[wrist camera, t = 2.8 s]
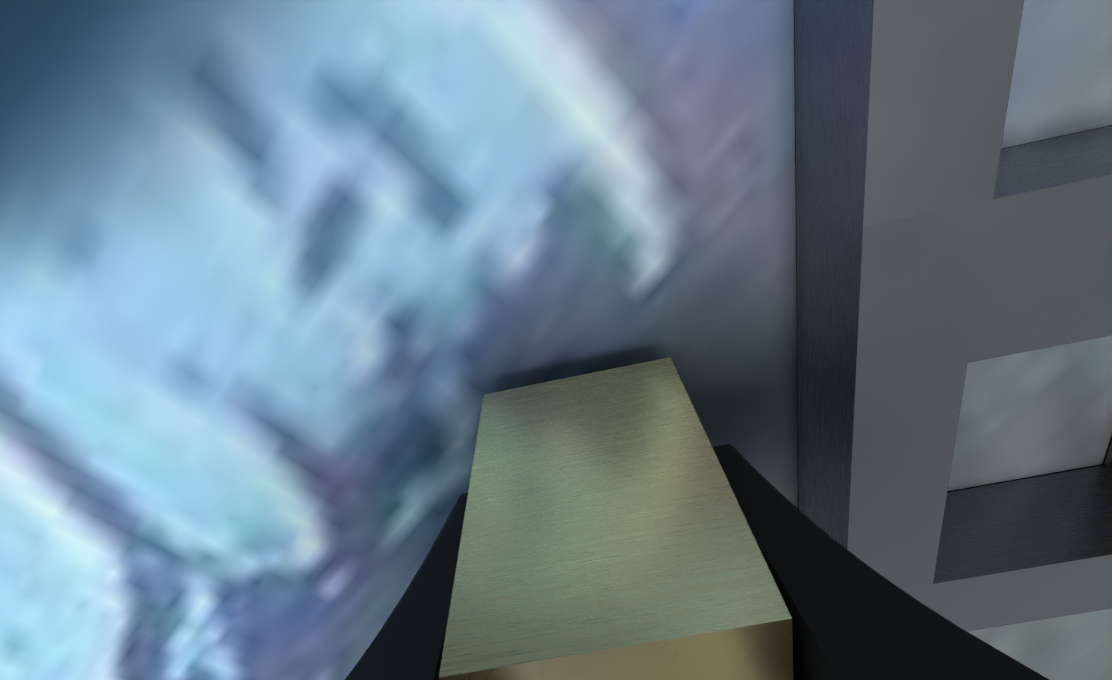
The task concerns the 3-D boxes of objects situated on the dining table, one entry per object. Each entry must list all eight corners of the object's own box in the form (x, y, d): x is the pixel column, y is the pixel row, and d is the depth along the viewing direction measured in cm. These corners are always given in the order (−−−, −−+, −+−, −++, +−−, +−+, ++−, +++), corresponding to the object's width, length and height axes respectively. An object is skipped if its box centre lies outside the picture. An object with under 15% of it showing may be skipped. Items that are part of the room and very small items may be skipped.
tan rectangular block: (689, 499, 13) (796, 800, 8) (527, 529, 13) (521, 840, 8) (670, 357, 11) (791, 618, 6) (484, 394, 12) (439, 677, 6)
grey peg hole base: (1161, 507, 15) (1269, 583, 13) (799, 568, 16) (842, 650, 14) (1619, -637, 7) (2172, -995, 4) (791, -399, 7) (904, -604, 5)
